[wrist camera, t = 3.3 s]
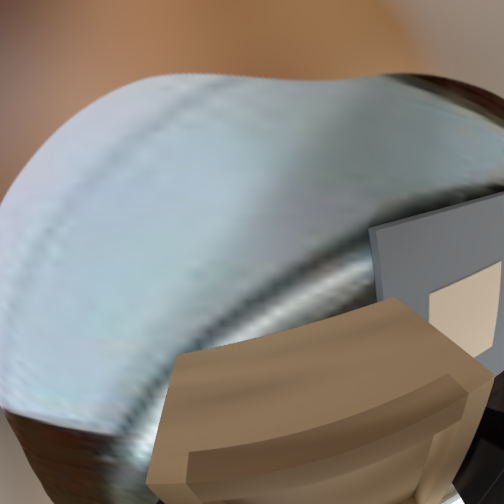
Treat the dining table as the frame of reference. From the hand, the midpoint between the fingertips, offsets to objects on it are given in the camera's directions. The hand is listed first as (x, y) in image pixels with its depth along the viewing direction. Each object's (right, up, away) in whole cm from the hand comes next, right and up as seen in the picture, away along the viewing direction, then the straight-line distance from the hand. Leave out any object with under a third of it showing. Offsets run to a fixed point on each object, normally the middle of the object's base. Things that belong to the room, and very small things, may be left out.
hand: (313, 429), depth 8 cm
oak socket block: (0, 0, +1) cm, 1 cm away
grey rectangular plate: (+14, +1, +10) cm, 17 cm away
